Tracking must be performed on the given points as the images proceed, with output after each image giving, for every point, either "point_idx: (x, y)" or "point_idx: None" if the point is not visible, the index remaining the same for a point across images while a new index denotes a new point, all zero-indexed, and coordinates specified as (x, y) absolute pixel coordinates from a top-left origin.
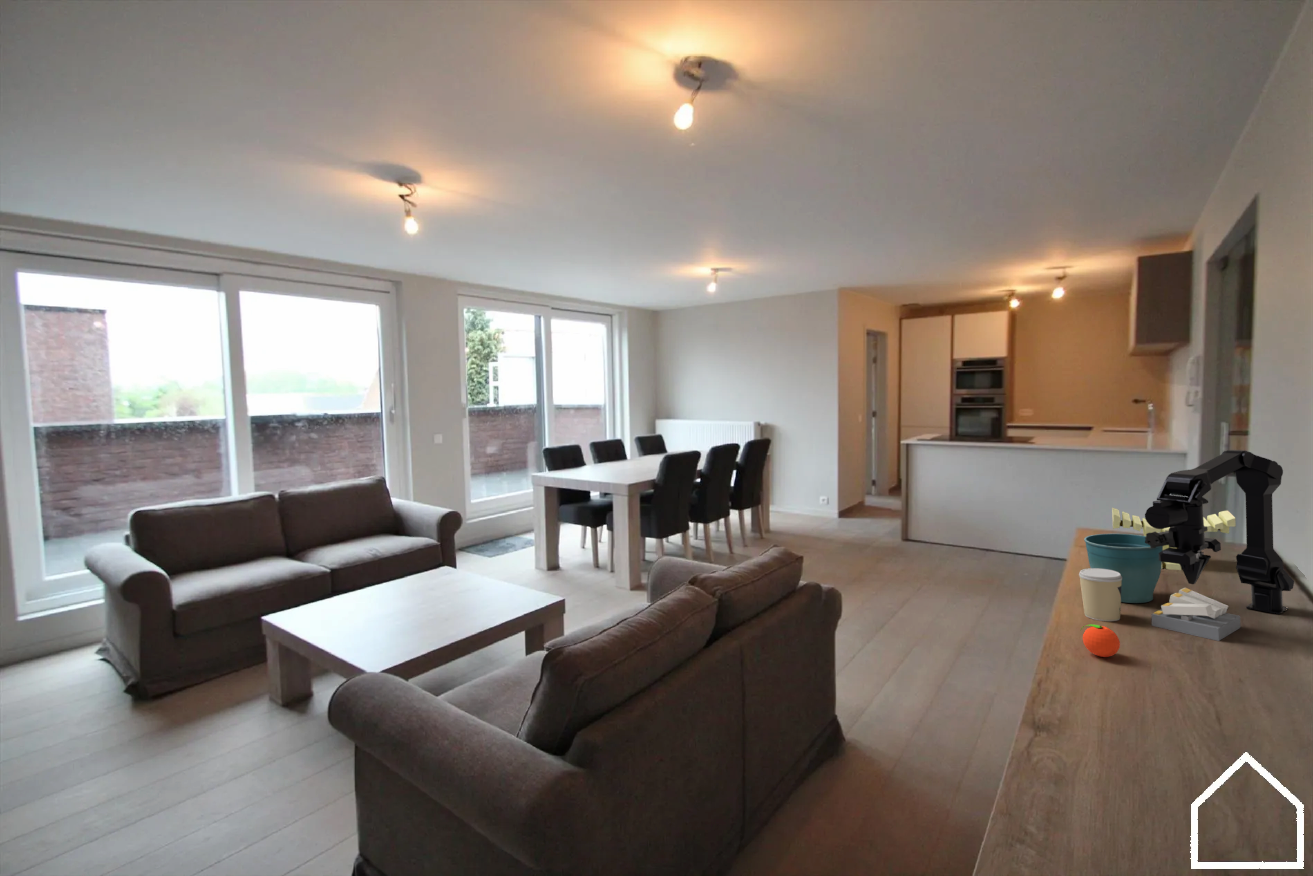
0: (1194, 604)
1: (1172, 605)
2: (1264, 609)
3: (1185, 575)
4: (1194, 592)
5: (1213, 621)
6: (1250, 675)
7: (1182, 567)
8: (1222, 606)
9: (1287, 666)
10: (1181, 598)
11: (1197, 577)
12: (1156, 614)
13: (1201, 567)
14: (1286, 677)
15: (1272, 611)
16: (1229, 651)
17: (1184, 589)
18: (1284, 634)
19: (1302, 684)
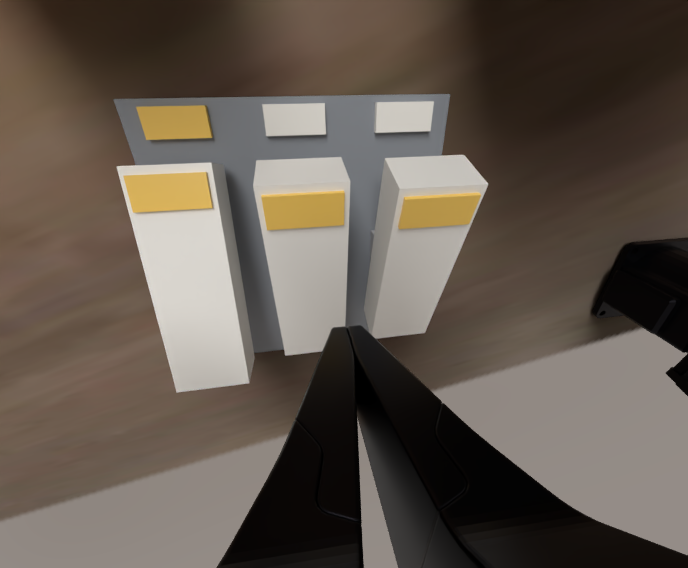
0: (224, 322)
1: (156, 229)
2: (607, 293)
3: (313, 381)
4: (453, 238)
5: (273, 320)
6: (24, 451)
7: (262, 497)
8: (391, 331)
9: (177, 451)
10: (270, 243)
11: (360, 419)
12: (140, 123)
13: (397, 563)
14: (103, 473)
15: (602, 304)
16: (148, 372)
17: (436, 203)
18: (416, 373)
19: (96, 492)
